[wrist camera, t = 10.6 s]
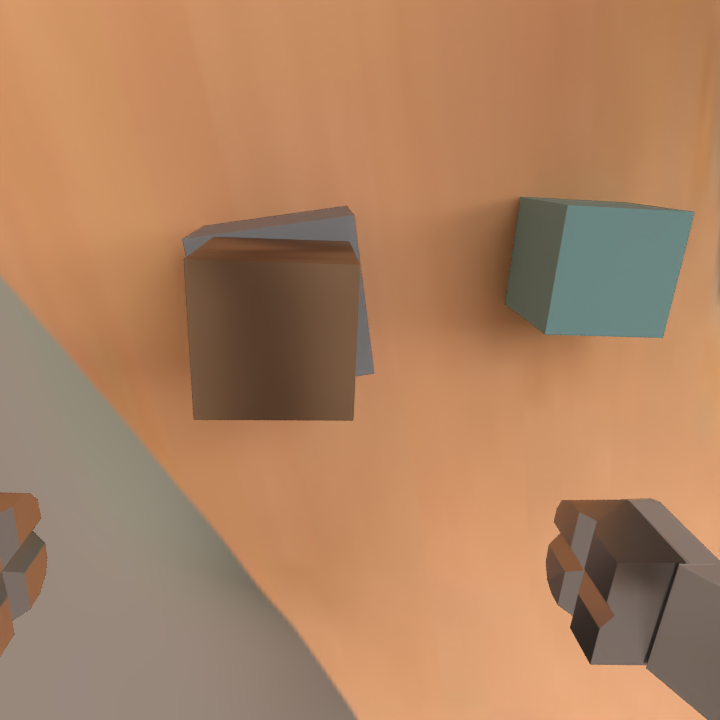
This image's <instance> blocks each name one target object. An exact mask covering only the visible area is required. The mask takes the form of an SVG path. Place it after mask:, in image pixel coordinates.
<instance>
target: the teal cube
mask: <svg viewBox="0 0 720 720" xmlns="http://www.w3.org/2000/svg"><path fill="white" fill-rule="evenodd" d="M693 216H694V212H692V211H684V210H677V209H670V208H663V207H655V206H648V205H641V204H633V203H626V202H609V201H591V200H572V199H554V198H535V197H520V204H519V211H518V218H517V224H516V231H515V238H514V245H513V252H512V258H511V265H510V272H509V279H508V286H507V292H506V299H505V305H507V306H508V307H509V308H511V309H512V310H513V311H515V312H516V313H517V314H519V315H520V316H521V317H523V318H524V319H525V320H527V321H528V322H529V323H530V324H532V325H533V326H534V327H536V328H537V329H538V330H540V331H541V332H542V333H544V334H548V335H581V336H615V337H648V338H663V335H664V331H665V327H666V323H667V319H668V315H669V311H670V308H671V304H672V300H673V296H674V292H675V288H676V284H677V280H678V276H679V272H680V268H681V264H682V260H683V256H684V252H685V248H686V244H687V240H688V236H689V232H690V228H691V224H692V220H693Z"/></svg>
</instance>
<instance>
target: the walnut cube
mask: <svg viewBox="0 0 720 720" xmlns="http://www.w3.org/2000/svg"><path fill="white" fill-rule="evenodd" d="M184 271H185V287H186V303H187V319H188V335H189V351H190V367H191V383H192V399H193V415H194V420H341V421H353V416H354V394H355V372H356V350H357V328H358V306H359V284H360V263H359V261H358V259H357V257H356V254H355V252H354V250H353V248H352V246H351V244H350V241H325V240H296V239H267V238H239V237H212V238H211V239H210V240H209V241H207V242H206V243H205V244H203V245H202V246H201V247H199V248H198V249H197V250H195V251H194V252H193V253H191V254H190V255H189V256H188V257H186V258H185V259H184Z"/></svg>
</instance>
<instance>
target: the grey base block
mask: <svg viewBox="0 0 720 720" xmlns="http://www.w3.org/2000/svg"><path fill="white" fill-rule="evenodd" d="M212 237H239V238H267V239H296V240H325V241H350V244H351V246H352V248H353V250H354V252H355V254H356V257H357V259H358V261H359V263H360V257H359V249H358V242H357V234H356V226H355V218H354V214H353V213H352V212H351V210H350V209H349V208H348V207H347V206H342V207H335V208H328V209H321V210H314V211H306V212H299V213H292V214H285V215H278V216H271V217H263V218H256V219H249V220H242V221H235V222H228V223H220V224H213V225H206V226H203V227H201V228H200V229H198V230H196V231H195V232H193V233H191V234H190V235H188V236H186V237H185V238H183V239H182V241H183V245H184V249H185V253H186V257H188V256H189V255H190V254H191V253H193V252H194V251H195V250H197V249H198V248H199V247H201V246H202V245H203V244H205V243H206V242H207V241H209V240H210V239H211V238H212ZM367 374H374V367H373V359H372V351H371V343H370V335H369V328H368V320H367V312H366V304H365V296H364V289H363V281H362V273H361V265H360V284H359V306H358V328H357V350H356V372H355V376H361V375H367Z"/></svg>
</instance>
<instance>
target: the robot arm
mask: <svg viewBox="0 0 720 720" xmlns="http://www.w3.org/2000/svg"><path fill="white" fill-rule="evenodd" d="M40 519H41V514H40V509H39V504H38V499H36V498H35V497H34V496H33V495H32V494H30V493H1V492H0V656H1V654H2V653H3V651H4V650H5V648H6V647H7V645H8V644H9V642H10V640H11V639H12V637H13V636H14V629H13V623H12V621H13V620H14V619H16V618H17V617H19V616H20V615H22V614H23V613H25V612H27V611H28V610H30V609H31V607H32V606H33V604H34V602H35V601H36V599H37V597H38V596H39V594H40V592H41V588H42V585H43V582H44V579H45V575H46V568H47V553H46V545H45V542H44V541H42V540H41V539H40V538H39V537H38V536H37V535H36V534H35V533H34V532H33V531H32V530H33V529H34V528H35V526H36V525H37V523H38V522H39V521H40ZM554 523H555V525H556V526H557V528H558V530H559V532H560V534H559V535H558V536H557V537H556V538H555V539H554V540H553V541H552V542H551V543H550V544H549V547H548V552H547V558H546V570H547V580H548V584H549V587H550V590H551V593H552V595H553V597H554V599H555V601H556V603H557V605H558V606H560V607H561V608H563V609H564V610H565V611H567V612H568V613H570V614H571V615H572V616H573V618H572V622H571V626H570V629H571V630H572V632H573V634H574V636H575V638H576V639H577V641H578V643H579V645H580V647H581V649H582V650H583V652H584V654H585V656H586V658H587V659H588V661H589V663H590V665H647V667H646V668H647V669H648V670H649V671H650V672H651V673H653V674H654V675H655V676H656V677H657V678H658V679H660V680H661V681H662V682H663V683H664V684H666V685H667V686H668V687H669V688H670V689H672V690H673V691H674V692H675V693H676V694H678V695H679V696H680V697H681V698H682V699H683V700H685V701H686V702H687V703H688V704H689V705H691V706H692V707H693V708H694V709H695V710H697V711H698V712H699V713H700V714H701V715H702V716H704V717H705V718H706V719H707V720H720V561H719V560H718V559H717V558H716V557H715V556H714V555H713V554H712V553H711V552H710V551H709V550H708V549H707V548H706V547H705V546H704V545H703V544H702V543H701V542H700V541H699V540H698V539H697V538H696V537H695V536H694V535H693V534H692V533H691V532H690V531H689V530H688V529H687V528H686V527H685V526H684V525H683V524H682V523H681V522H680V521H679V520H678V519H677V518H676V517H675V516H674V515H673V514H672V513H671V512H670V511H669V510H668V509H667V508H666V507H665V506H664V505H663V504H662V503H661V502H658V501H656V500H654V499H651V498H649V499H621V500H562V501H561V503H560V504H559V506H558V508H557V510H556V515H555V519H554Z"/></svg>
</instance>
